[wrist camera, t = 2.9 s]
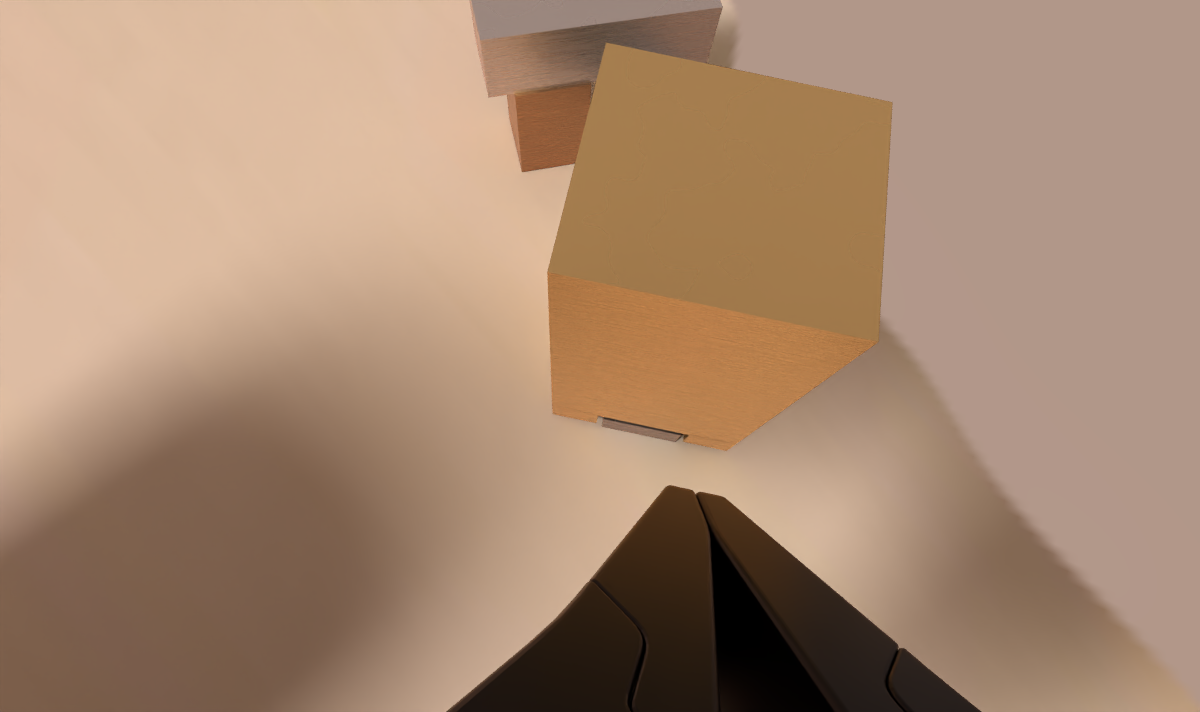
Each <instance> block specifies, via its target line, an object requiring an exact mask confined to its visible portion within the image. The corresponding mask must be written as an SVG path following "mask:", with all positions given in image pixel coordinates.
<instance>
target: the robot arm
mask: <svg viewBox="0 0 1200 712" xmlns="http://www.w3.org/2000/svg"><path fill="white" fill-rule="evenodd" d="M898 648H899V647H898V644H897V643H896V642H895V641H893V640H892V639H891V638H890V637H889V636H888V635H886V634H885V633H884V632H883V631H882V630H880V629H879V628H878V627H877V626H876V625H875V624H873V623H872V622H871V621H870V620H869V619H867V618H866V617H865V616H864V615H863V614H862V613H860V612H859V611H858V610H857V609H856V608H854V607H853V606H852V605H851V604H850V603H849V602H847V601H846V600H845V599H844V598H843V597H841V596H840V595H839V594H838V593H837V592H836V591H834V590H833V589H832V588H831V587H830V586H828V585H827V584H826V583H825V582H824V581H823V580H821V579H820V578H819V577H818V576H817V575H815V574H814V573H813V572H812V571H811V570H810V569H808V568H807V567H806V566H805V565H804V564H802V563H801V562H800V561H799V560H798V559H797V558H795V557H794V556H793V555H792V554H791V553H789V552H788V551H787V550H786V549H785V548H784V547H782V546H781V545H780V544H779V543H778V542H776V541H775V540H774V539H773V538H772V537H771V536H769V535H768V534H767V533H766V532H765V531H764V530H762V529H761V528H760V527H759V526H758V525H756V524H755V523H754V522H753V521H752V520H751V519H749V518H748V517H747V516H746V515H745V514H743V513H742V512H741V511H740V510H739V509H738V508H736V507H735V506H734V505H733V504H732V503H730V502H729V501H728V500H727V499H726V498H724V497H722V496H718V495H713V494H709V493H704V492H698V493H696V494H695V492H694V491H693V490H690V489H685V488H680V487H676V486H671V485H669V486H667V487H665V488H664V490H663V491H662V492H661V493H660V495H659V496H658V497H657V498H656V499H655V501H654V502H653V503H652V504H651V506H650V507H649V508H648V509H647V511H646V512H645V513H644V514H643V515H642V517H641V518H640V519H639V520H638V522H637V523H636V524H635V525H634V526H633V528H632V529H631V530H630V531H629V533H628V534H627V535H626V536H625V538H624V539H623V540H622V541H621V542H620V544H619V545H618V546H617V547H616V549H615V550H614V551H613V552H612V554H611V555H610V556H609V557H608V558H607V560H606V561H605V562H604V563H603V565H602V566H601V567H600V568H599V570H598V571H597V572H596V573H595V574H594V576H593V577H592V578H591V579H590V581H589V582H587V583H586V584H585V586H584V587H583V588H582V589H581V590H580V592H579V593H578V594H577V595H576V597H575V598H574V599H573V600H572V601H571V602H570V603H569V604H568V605H567V607H566V608H565V609H564V610H563V611H562V612H561V613H560V614H559V615H558V616H557V617H556V619H555V620H554V621H552V622H551V623H550V624H549V625H548V626H547V627H546V628H545V629H544V630H543V631H541V632H540V633H539V634H538V635H537V636H536V637H535V638H534V639H533V640H531V641H530V642H529V643H528V644H527V645H526V646H525V647H523V648H522V649H521V650H520V651H519V652H517V653H516V654H515V655H514V656H513V657H511V658H510V659H509V660H508V661H507V662H505V663H504V664H503V665H502V666H501V667H499V668H498V669H497V670H496V671H495V672H493V673H492V674H491V675H490V676H489V677H487V678H486V679H485V680H484V681H483V682H481V683H480V684H479V685H478V686H477V687H475V688H474V689H473V690H472V691H471V692H469V693H468V694H467V695H466V696H465V697H463V698H462V699H461V700H460V701H459V702H457V703H456V704H455V705H454V706H453V707H451V708H450V709H449V710H448V711H447V712H981V711H980V710H979V709H977V708H976V707H975V706H973V705H972V704H971V703H970V702H968V701H967V700H966V699H965V698H964V697H962V696H961V695H960V694H959V693H957V692H956V691H955V690H954V689H953V688H951V687H950V686H949V685H948V684H946V683H945V682H944V681H943V680H942V679H940V678H939V677H938V676H937V675H935V674H934V673H933V672H932V671H931V670H929V669H928V668H927V667H926V666H925V665H923V664H922V663H921V662H920V661H919V660H918V659H916V658H915V657H914V656H913V655H912V654H911V653H909V652H908V651H907V650H906V649H904V648H900V649H899V650H898Z"/></svg>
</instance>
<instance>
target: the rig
mask: <svg viewBox="0 0 1200 712" xmlns="http://www.w3.org/2000/svg"><path fill="white" fill-rule="evenodd" d="M470 6H471V13H472V19H473V25H474V32H475V38H476V44H477V48H478V53H479V57H480V61H481V66H482V70H483V75H484V79H485V84H486V88H487V92H488V97H495V96H502V95H507V100H508V109H509V118H510V123H511V127H512V131H513V135H514V140H515V144H516V148H517V152H518V157H519V161H520V165H521V169H522V172H525V171H531V170H537V169H543V168H549V167H555V166H561V165H567V164H573V163H575V162H576V158H577V154H578V150H579V146H580V143H581V139H582V135H583V131H584V127H585V123H586V119H587V115H588V111H589V107H590V95H591V82H595V81H596V80H597V76H598V72H599V68H600V64H601V60H602V57H603V53H604V49H605V45H606V43H611V44H616V45H620V46H625V47H630V48H635V49H640V50H644V51H649V52H654V53H659V54H664V55H668V56H673V57H678V58H683V59H687V60H692V61H697V62H702V63H707V59H708V56H709V53H710V49H711V46H712V42H713V39H714V35H715V32H716V28H717V25H718V22H719V18H720V15H721V11H722V8H723V7H722V4H721V1H720V0H470ZM602 426H603V427H608V428H612V429H617V430H622V431H626V432H631V433H636V434H640V435H645V436H650V437H655V438H659V439H664V440H669V441H673V442H676V440H677V439H678V438H679V437H680V436H681V433H677V432H673V431H668V430H663V429H658V428H654V427H649V426H644V425H640V424H635V423H630V422H625V421H621V420H616V419H611V418H607V417H603V422H602Z"/></svg>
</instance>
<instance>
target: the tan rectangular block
mask: <svg viewBox="0 0 1200 712" xmlns="http://www.w3.org/2000/svg"><path fill="white" fill-rule="evenodd" d="M891 119H892V102H889V101H884V100H879V99H874V98H870V97H865V96H860V95H855V94H851V93H846V92H841V91H836V90H831V89H826V88H821V87H817V86H812V85H807V84H803V83H798V82H793V81H788V80H783V79H779V78H774V77H769V76H764V75H759V74H754V73H750V72H745V71H740V70H735V69H731V68H726V67H721V66H716V65H711V64H707V63H702V62H697V61H692V60H687V59H683V58H678V57H673V56H668V55H664V54H659V53H654V52H649V51H644V50H640V49H635V48H630V47H625V46H620V45H616V44H611V43H606V45H605V49H604V53H603V57H602V60H601V64H600V68H599V72H598V76H597V80H596V84H595V88H594V92H593V96H592V100H591V103H590V107H589V111H588V115H587V119H586V123H585V127H584V131H583V135H582V139H581V143H580V146H579V150H578V154H577V158H576V162H575V166H574V170H573V174H572V178H571V182H570V186H569V189H568V193H567V197H566V201H565V205H564V209H563V213H562V217H561V221H560V225H559V229H558V232H557V236H556V240H555V244H554V248H553V252H552V256H551V260H550V264H549V268H548V272H547V274H548V301H549V328H550V355H551V382H552V409H553V414H556V415H561V416H565V417H570V418H575V419H579V420H584V421H589V422H594V423H596V422H597V418H598V416H602V417H607V418H611V419H616V420H621V421H625V422H630V423H635V424H640V425H644V426H649V427H654V428H658V429H663V430H668V431H673V432H677V433H682V434H684V439H683V442H688V443H692V444H697V445H702V446H706V447H711V448H716V449H721V450H725V451H727V450H728V449H730V448H731V447H733V446H734V445H735V444H737V443H738V442H740V441H741V440H742V439H744V438H745V437H747V436H748V435H749V434H751V433H752V432H753V431H755V430H756V429H758V428H759V427H760V426H762V425H763V424H765V423H766V422H767V421H769V420H770V419H772V418H773V417H774V416H776V415H777V414H779V413H780V412H781V411H783V410H784V409H786V408H787V407H788V406H790V405H791V404H792V403H794V402H795V401H797V400H798V399H799V398H801V397H802V396H804V395H805V394H806V393H808V392H809V391H811V390H812V389H813V388H815V387H816V386H818V385H819V384H820V383H822V382H823V381H825V380H826V379H827V378H829V377H830V376H831V375H833V374H834V373H836V372H837V371H838V370H840V369H841V368H843V367H844V366H845V365H847V364H848V363H850V362H851V361H852V360H854V359H855V358H857V357H858V356H859V355H861V354H862V353H864V352H865V351H866V350H868V349H869V348H870V347H872V346H873V345H875V344H876V343H877V342H878V341H879V324H880V307H881V289H882V272H883V256H884V238H885V221H886V204H887V203H886V202H887V187H888V170H889V153H890V136H891Z"/></svg>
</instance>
